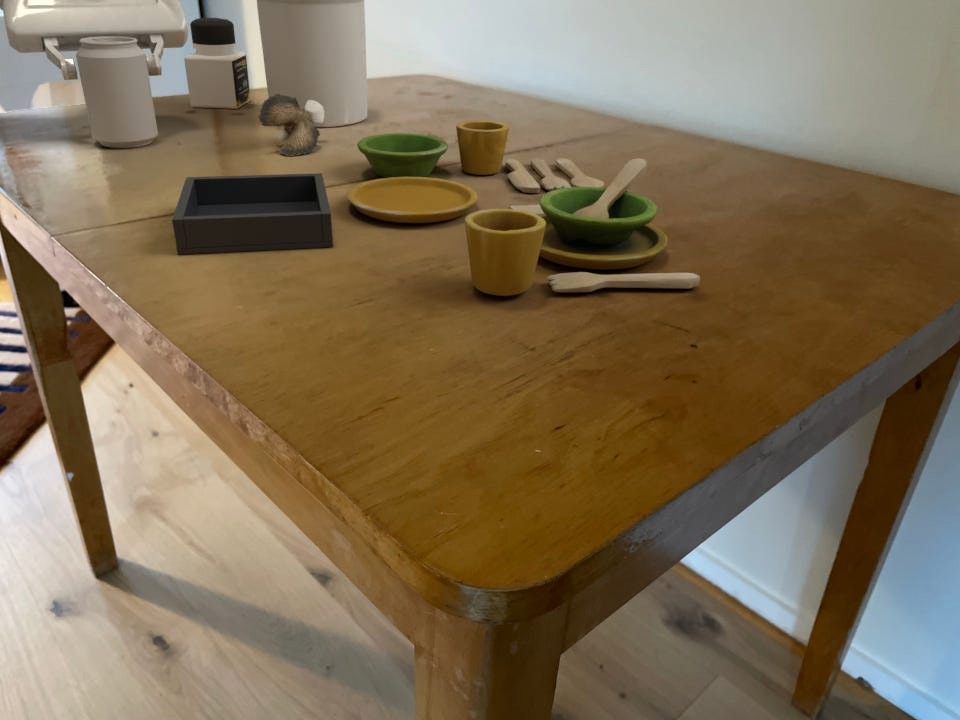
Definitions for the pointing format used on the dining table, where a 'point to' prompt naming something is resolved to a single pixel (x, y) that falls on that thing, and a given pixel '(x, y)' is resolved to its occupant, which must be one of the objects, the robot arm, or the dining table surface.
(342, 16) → the utensil holder
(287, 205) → the dark grey tray
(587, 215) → the tableware set
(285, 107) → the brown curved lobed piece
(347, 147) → the dining table surface
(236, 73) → the medicine bottle
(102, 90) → the can
